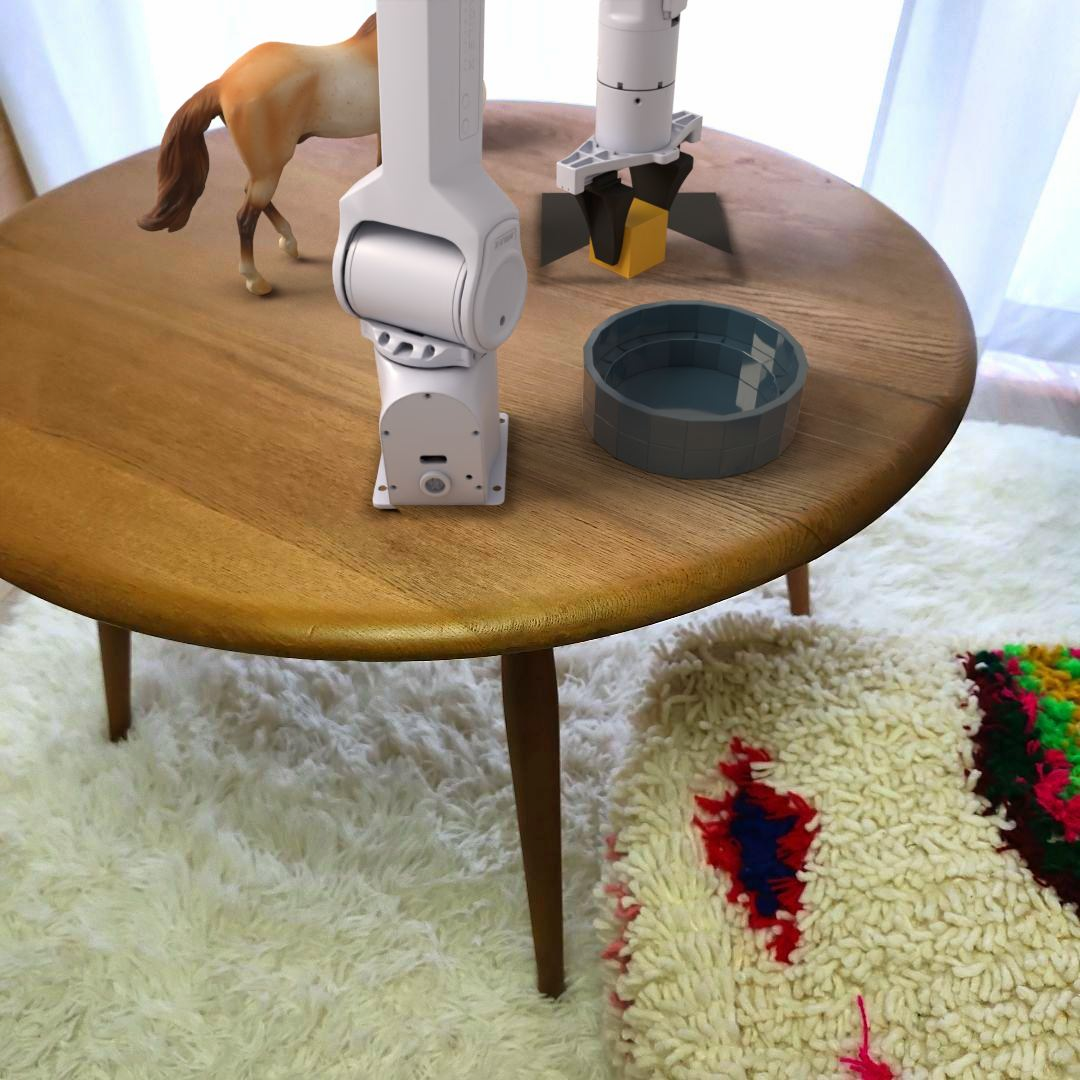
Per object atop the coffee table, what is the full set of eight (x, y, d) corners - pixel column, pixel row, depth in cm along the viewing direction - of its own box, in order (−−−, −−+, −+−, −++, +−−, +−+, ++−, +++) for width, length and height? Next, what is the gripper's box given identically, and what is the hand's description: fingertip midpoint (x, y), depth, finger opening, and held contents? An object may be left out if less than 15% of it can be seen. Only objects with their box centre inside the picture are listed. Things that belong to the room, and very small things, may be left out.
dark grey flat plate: (738, 281, 83) (739, 276, 83) (540, 281, 83) (540, 276, 83) (715, 196, 95) (715, 192, 94) (542, 196, 95) (542, 192, 95)
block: (664, 261, 84) (668, 211, 82) (628, 280, 82) (631, 228, 79) (624, 244, 87) (627, 194, 84) (589, 262, 85) (590, 211, 82)
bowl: (813, 486, 64) (828, 420, 60) (584, 486, 64) (586, 421, 60) (776, 361, 74) (787, 299, 71) (579, 361, 74) (581, 299, 71)
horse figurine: (481, 193, 95) (469, -57, 82) (526, 224, 91) (522, -36, 77) (152, 285, 83) (72, 9, 69) (184, 327, 78) (105, 38, 64)
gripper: (609, 118, 69) (602, 299, 78) (741, 66, 76) (720, 237, 85) (535, 92, 73) (537, 268, 82) (668, 45, 80) (656, 211, 89)
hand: (626, 250), depth 84 cm, fingers closed on block, 4 cm apart
